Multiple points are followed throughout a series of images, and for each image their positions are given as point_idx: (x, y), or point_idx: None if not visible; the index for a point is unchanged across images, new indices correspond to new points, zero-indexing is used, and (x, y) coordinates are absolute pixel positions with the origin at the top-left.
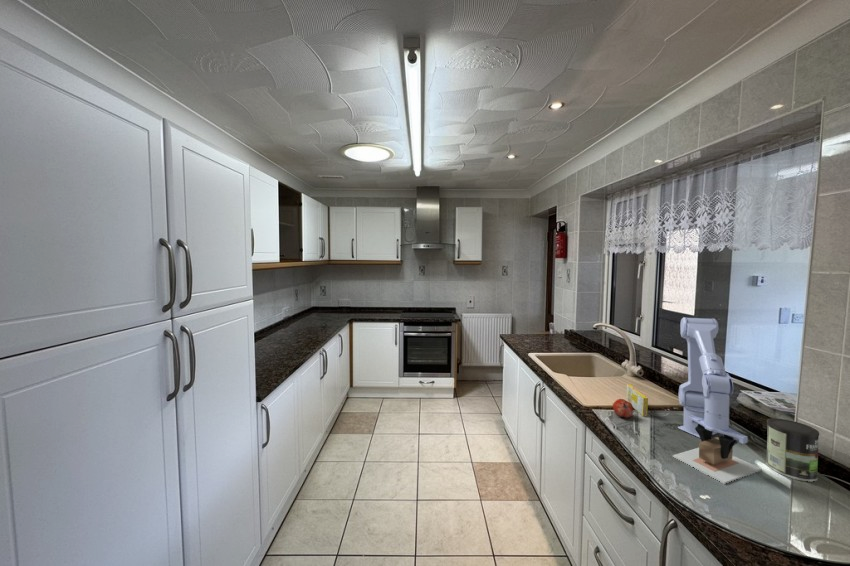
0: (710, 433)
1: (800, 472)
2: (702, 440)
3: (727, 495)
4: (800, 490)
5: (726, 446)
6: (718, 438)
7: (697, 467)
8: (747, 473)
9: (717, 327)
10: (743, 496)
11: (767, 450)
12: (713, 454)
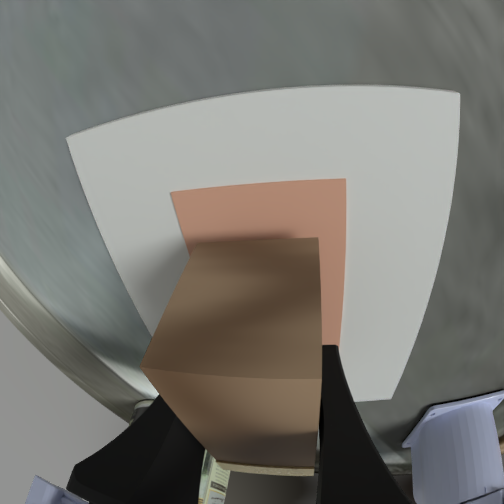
0: (316, 502)
1: (130, 424)
2: (345, 419)
3: (11, 66)
4: (90, 363)
5: (115, 439)
6: (295, 473)
7: (243, 108)
8: (153, 334)
9: None
10: (9, 143)
11: (208, 467)
12: (170, 313)
